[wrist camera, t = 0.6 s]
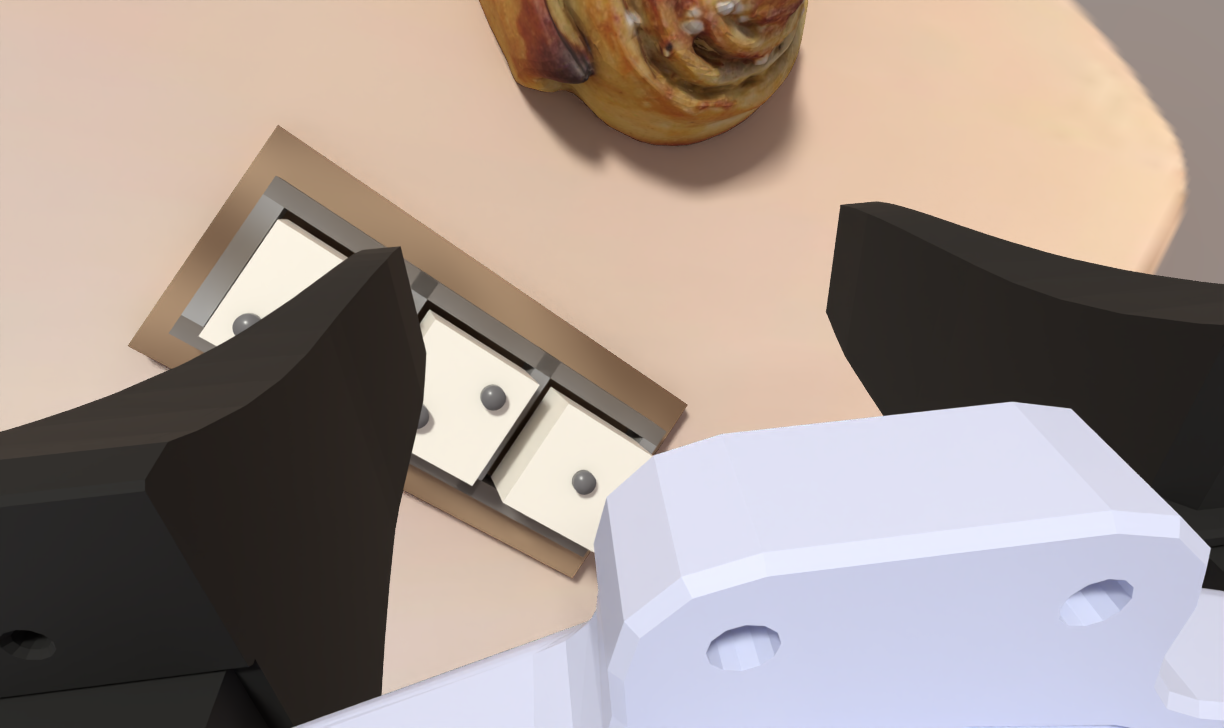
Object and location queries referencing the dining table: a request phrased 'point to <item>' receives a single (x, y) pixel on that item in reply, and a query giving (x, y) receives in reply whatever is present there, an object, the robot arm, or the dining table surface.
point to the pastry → (654, 58)
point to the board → (439, 281)
